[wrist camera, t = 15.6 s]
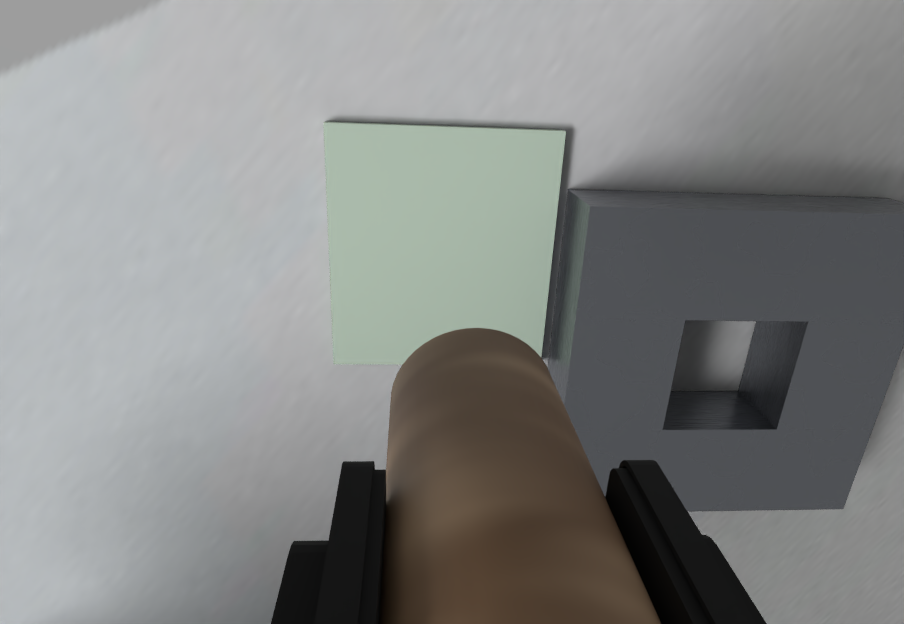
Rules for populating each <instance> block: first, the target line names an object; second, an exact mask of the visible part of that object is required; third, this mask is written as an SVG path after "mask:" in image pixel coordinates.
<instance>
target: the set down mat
mask: <svg viewBox="0 0 904 624" xmlns="http://www.w3.org/2000/svg"><path fill="white" fill-rule="evenodd" d="M565 136H566V131H564V130H549V129H520V128H492V127H464V126H436V125H408V124H380V123H351V122H324V147H325V170H326V194H327V218H328V242H329V266H330V290H331V314H332V338H333V362H334V364H388V365H403V364H404V362H405V361H406V360H407V358H408V357H409V356H410V355H411V354H412V353H413V352H414V351H415V350H416V349H418V348H419V347H420V346H422V345H423V344H424V343H426V342H428V341H429V340H431V339H433V338H435V337H437V336H439V335H442V334H444V333H447V332H451V331H454V330H459V329H465V328H487V329H493V330H498V331H502V332H505V333H508V334H510V335H513V336H515V337H517V338H519V339H520V340H522V341H523V342H525V343H526V344H528V345H529V346H530V347H531V348H533V349H534V350H535V351H536V352H537V354H538V355H539V356H540V357H541V356H542V347H543V338H544V329H545V319H546V310H547V301H548V292H549V283H550V274H551V264H552V255H553V246H554V237H555V228H556V218H557V209H558V200H559V191H560V182H561V173H562V163H563V154H564V145H565Z"/></svg>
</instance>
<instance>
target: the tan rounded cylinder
mask: <svg viewBox="0 0 904 624" xmlns="http://www.w3.org/2000/svg"><path fill="white" fill-rule="evenodd" d="M379 624H661V622H660V619H659V617H658V615H657V613H656V610H655V608H654V606H653V604H652V601H651V599H650V597H649V595H648V592H647V590H646V588H645V586H644V584H643V581H642V579H641V577H640V575H639V572H638V570H637V568H636V566H635V563H634V561H633V559H632V557H631V554H630V552H629V550H628V548H627V545H626V543H625V541H624V539H623V536H622V534H621V532H620V530H619V527H618V525H617V523H616V521H615V518H614V516H613V514H612V512H611V510H610V507H609V505H608V503H607V501H606V498H605V496H604V494H603V492H602V489H601V487H600V485H599V483H598V480H597V478H596V476H595V474H594V471H593V469H592V467H591V465H590V462H589V460H588V458H587V456H586V453H585V451H584V449H583V447H582V444H581V442H580V440H579V438H578V435H577V433H576V431H575V429H574V427H573V424H572V422H571V420H570V418H569V415H568V413H567V411H566V409H565V406H564V404H563V402H562V400H561V397H560V395H559V393H558V391H557V388H556V386H555V384H554V382H553V379H552V377H551V375H550V373H549V370H548V368H547V366H546V365H545V363H544V361H543V360H542V358H541V357H540V356H539V355H538V354H537V352H536V351H535V350H534V349H533V348H531V347H530V346H529V345H528V344H526V343H525V342H523V341H522V340H520V339H519V338H517V337H515V336H513V335H510V334H508V333H505V332H502V331H498V330H493V329H487V328H465V329H459V330H454V331H451V332H447V333H444V334H442V335H439V336H437V337H435V338H433V339H431V340H429V341H428V342H426V343H424V344H423V345H422V346H420V347H419V348H418V349H416V350H415V351H414V352H413V353H412V354H411V355H410V356H409V357H408V358H407V360H406V361H405V362H404V364H403V365H402V367H401V368H400V370H399V372H398V374H397V376H396V378H395V381H394V383H393V388H392V392H391V404H390V419H389V434H388V449H387V465H386V517H385V533H384V550H383V567H382V583H381V600H380V617H379Z"/></svg>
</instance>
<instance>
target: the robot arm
mask: <svg viewBox="0 0 904 624" xmlns="http://www.w3.org/2000/svg"><path fill="white" fill-rule="evenodd" d="M605 498H606V501H607V503H608V505H609V507H610V510H611V512H612V514H613V516H614V518H615V521H616V523H617V525H618V527H619V530H620V532H621V534H622V536H623V539H624V541H625V543H626V545H627V548H628V550H629V552H630V554H631V557H632V559H633V561H634V563H635V566H636V568H637V570H638V572H639V575H640V577H641V579H642V581H643V584H644V586H645V588H646V590H647V592H648V595H649V597H650V599H651V601H652V604H653V606H654V608H655V610H656V613H657V615H658V617H659V619H660V622H661V624H766V622H765V621H764V619H763V617H762V616H761V614H760V613H759V611H758V610H757V608H756V606H755V605H754V603H753V602H752V600H751V598H750V597H749V595H748V594H747V592H746V591H745V589H744V587H743V586H742V584H741V583H740V581H739V579H738V578H737V576H736V575H735V573H734V572H733V570H732V568H731V567H730V565H729V564H728V562H727V561H726V559H725V557H724V556H723V554H722V553H721V551H720V549H719V548H718V546H717V545H716V544H715V542H714V541H713V540H712V539H711V538H710V537H708V536H706V535H701V533H700V531H699V530H698V528H697V526H696V525H695V523H694V522H693V520H692V518H691V517H690V515H689V513H688V512H687V510H686V509H685V507H684V505H683V504H682V502H681V500H680V499H679V497H678V495H677V494H676V492H675V491H674V489H673V487H672V486H671V484H670V482H669V481H668V479H667V478H666V476H665V474H664V473H663V471H662V469H661V468H660V466H659V465H658V463H657V462H656V461H654V460H623V461H622V462H621V463H620V465H619V468H613V469H611V471H610V474H609V479H608V485H607V491H606V496H605ZM385 517H386V470H375V465H374V461H368V462H343V463H342V468H341V474H340V479H339V485H338V491H337V496H336V502H335V508H334V514H333V519H332V525H331V531H330V536H329V541H294V542H293V543H292V545H291V548H290V551H289V554H288V558H287V562H286V566H285V570H284V574H283V578H282V582H281V586H280V590H279V594H278V598H277V602H276V606H275V610H274V614H273V618H272V621H271V624H379V617H380V600H381V583H382V567H383V550H384V533H385Z"/></svg>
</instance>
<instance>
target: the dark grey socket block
mask: <svg viewBox="0 0 904 624" xmlns="http://www.w3.org/2000/svg"><path fill="white" fill-rule="evenodd" d="M685 320H712V321H756V324H755V328H754V332H753V336H752V340H751V344H750V348H749V352H748V355H747V359H746V363H745V367H744V371H743V375H742V379H741V383H740V386H739V390H738V392H725V391H671V387H672V382H673V377H674V372H675V368H676V363H677V358H678V353H679V348H680V344H681V339H682V334H683V329H684V324H685ZM903 345H904V203H903V202H899V201H896V200H892V199H888V198H865V197H829V196H793V195H757V194H721V193H685V192H649V191H613V190H577V189H568V193H567V202H566V211H565V219H564V228H563V237H562V246H561V254H560V263H559V272H558V281H557V289H556V298H555V307H554V316H553V324H552V333H551V342H550V351H549V359H548V370H549V373H550V375H551V377H552V379H553V382H554V384H555V386H556V388H557V391H558V393H559V395H560V397H561V400H562V402H563V404H564V406H565V409H566V411H567V413H568V415H569V418H570V420H571V422H572V424H573V427H574V429H575V431H576V433H577V435H578V438H579V440H580V442H581V444H582V447H583V449H584V451H585V453H586V456H587V458H588V460H589V462H590V465H591V467H592V469H593V471H594V474H595V476H596V478H597V480H598V483H599V485H600V487H601V489H602V492H603V494H604V496H606V491H607V485H608V479H609V474H610V471H611V469H613V468H619V465H620V463H621V462H622V461H623V460H654V461H656V462H657V463H658V465H659V466H660V468H661V469H662V471H663V473H664V474H665V476H666V478H667V479H668V481H669V482H670V484H671V486H672V487H673V489H674V491H675V492H676V494H677V495H678V497H679V499H680V500H681V502H682V504H683V505H684V507H685V509H686V510H687V511H742V510H810V509H843V508H844V505H845V503H846V500H847V497H848V494H849V492H850V489H851V486H852V484H853V481H854V478H855V475H856V473H857V470H858V467H859V465H860V462H861V459H862V456H863V454H864V451H865V448H866V446H867V443H868V440H869V437H870V435H871V432H872V429H873V427H874V424H875V421H876V418H877V416H878V413H879V410H880V408H881V405H882V402H883V399H884V397H885V394H886V391H887V389H888V386H889V383H890V380H891V378H892V375H893V372H894V370H895V367H896V364H897V361H898V359H899V356H900V353H901V351H902V348H903Z"/></svg>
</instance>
